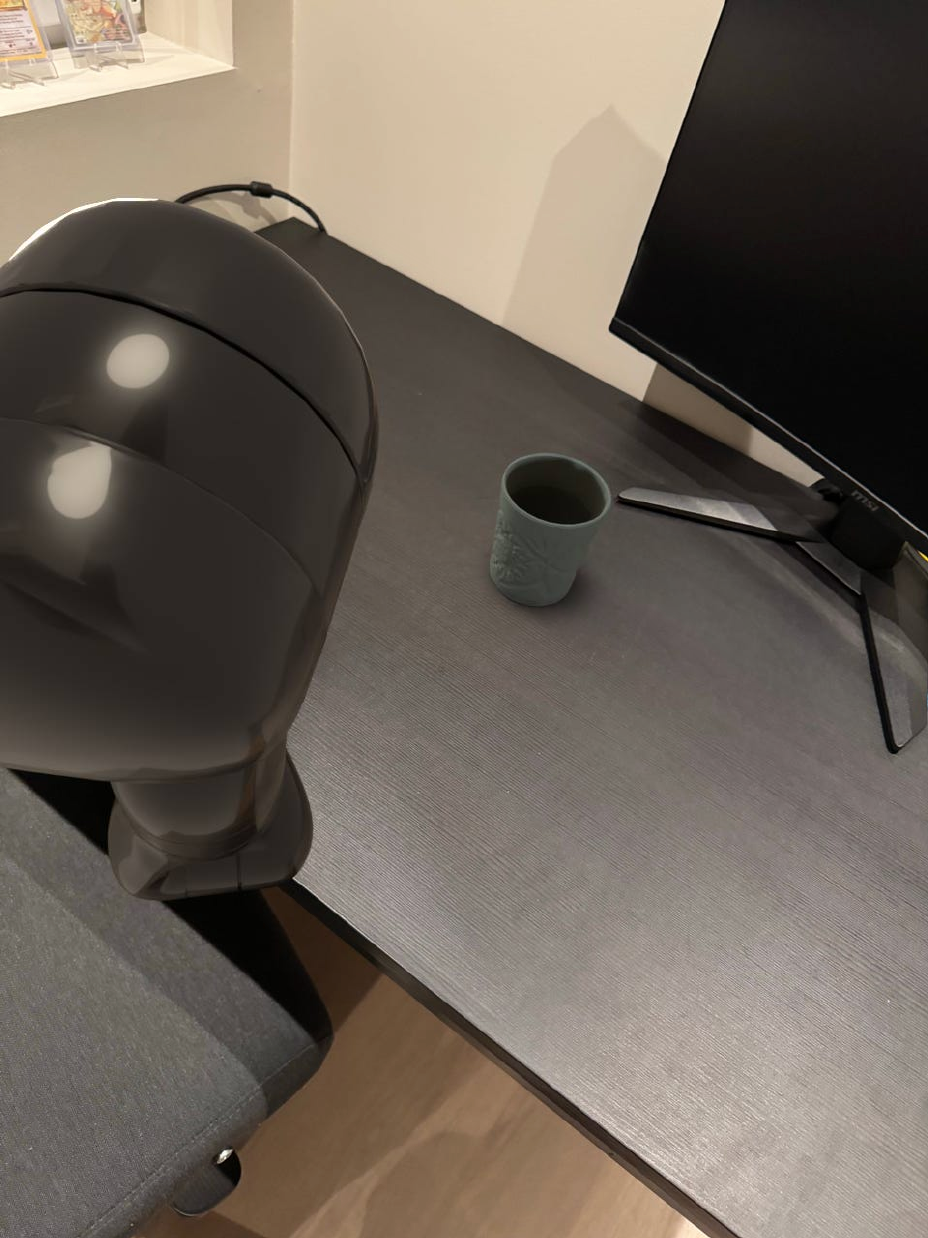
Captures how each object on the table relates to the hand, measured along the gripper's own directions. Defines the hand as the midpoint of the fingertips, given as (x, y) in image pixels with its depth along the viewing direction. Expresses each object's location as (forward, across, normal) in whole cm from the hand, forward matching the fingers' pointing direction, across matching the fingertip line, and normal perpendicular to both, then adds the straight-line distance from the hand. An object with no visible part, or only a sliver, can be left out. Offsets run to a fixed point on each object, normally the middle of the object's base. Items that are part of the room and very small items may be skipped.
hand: (206, 442), depth 66 cm
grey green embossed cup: (0, -31, +17) cm, 35 cm away
